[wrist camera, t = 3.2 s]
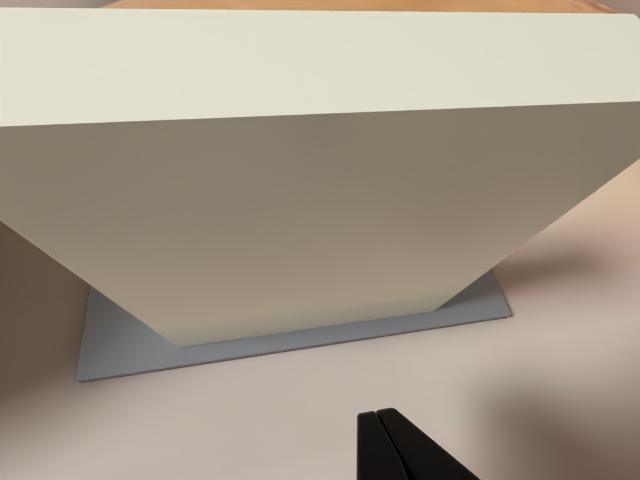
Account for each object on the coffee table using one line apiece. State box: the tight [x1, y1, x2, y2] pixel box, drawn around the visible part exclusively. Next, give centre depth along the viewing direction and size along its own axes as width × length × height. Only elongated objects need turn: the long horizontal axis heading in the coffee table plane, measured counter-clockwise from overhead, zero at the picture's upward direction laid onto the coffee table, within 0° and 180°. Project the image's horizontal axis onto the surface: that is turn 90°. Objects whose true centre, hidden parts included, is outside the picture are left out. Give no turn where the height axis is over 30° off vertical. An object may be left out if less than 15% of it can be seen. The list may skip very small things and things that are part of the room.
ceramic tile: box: [0, 8, 640, 348], centre depth 11 cm, size 2×12×12 cm, turn 100°
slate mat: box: [75, 269, 511, 383], centre depth 20 cm, size 18×20×1 cm
